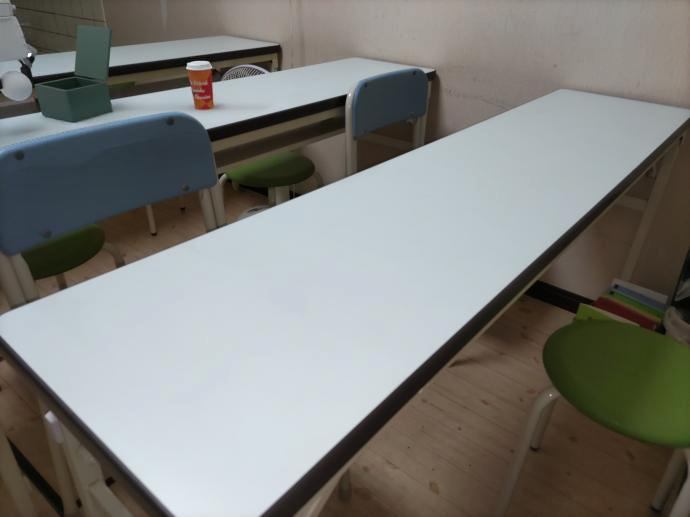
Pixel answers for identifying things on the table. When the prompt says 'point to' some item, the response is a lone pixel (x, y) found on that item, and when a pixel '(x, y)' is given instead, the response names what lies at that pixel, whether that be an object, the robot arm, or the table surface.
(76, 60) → the bin lid
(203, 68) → the paper cup
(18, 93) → the white egg
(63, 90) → the bin
